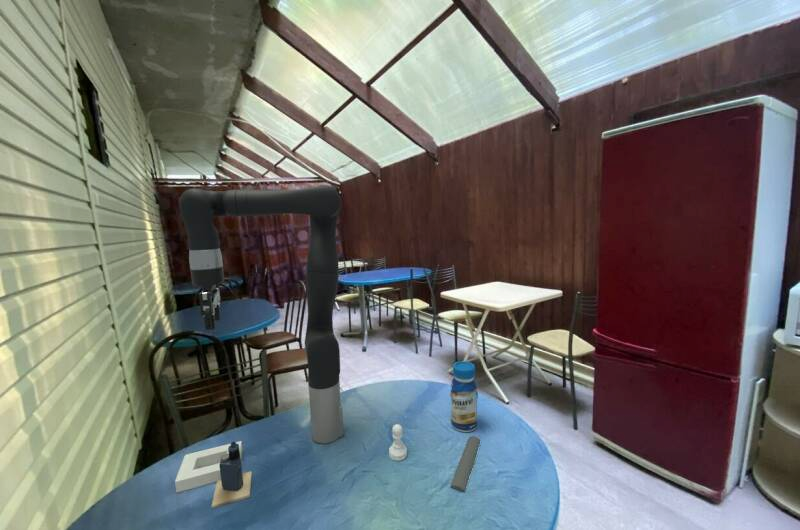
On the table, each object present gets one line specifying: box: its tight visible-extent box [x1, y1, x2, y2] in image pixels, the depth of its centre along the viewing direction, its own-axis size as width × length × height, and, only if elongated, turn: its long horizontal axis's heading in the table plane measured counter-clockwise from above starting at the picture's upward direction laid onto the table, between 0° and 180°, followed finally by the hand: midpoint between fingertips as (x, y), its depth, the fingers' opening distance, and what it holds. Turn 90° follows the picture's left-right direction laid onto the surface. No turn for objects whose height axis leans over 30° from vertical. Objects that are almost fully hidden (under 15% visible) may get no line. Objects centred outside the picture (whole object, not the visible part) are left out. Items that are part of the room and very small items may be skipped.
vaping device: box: [219, 441, 243, 491], centre depth 79 cm, size 3×5×12 cm, turn 81°
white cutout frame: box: [174, 440, 244, 493], centre depth 86 cm, size 14×10×3 cm
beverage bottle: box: [449, 360, 479, 433], centre depth 101 cm, size 8×8×20 cm
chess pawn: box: [388, 423, 408, 462], centre depth 90 cm, size 5×5×9 cm
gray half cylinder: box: [449, 435, 481, 492], centre depth 87 cm, size 4×20×2 cm, turn 155°
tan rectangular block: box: [211, 470, 252, 509], centre depth 80 cm, size 8×8×1 cm
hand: (213, 324), depth 88 cm, fingers open, 8 cm apart
